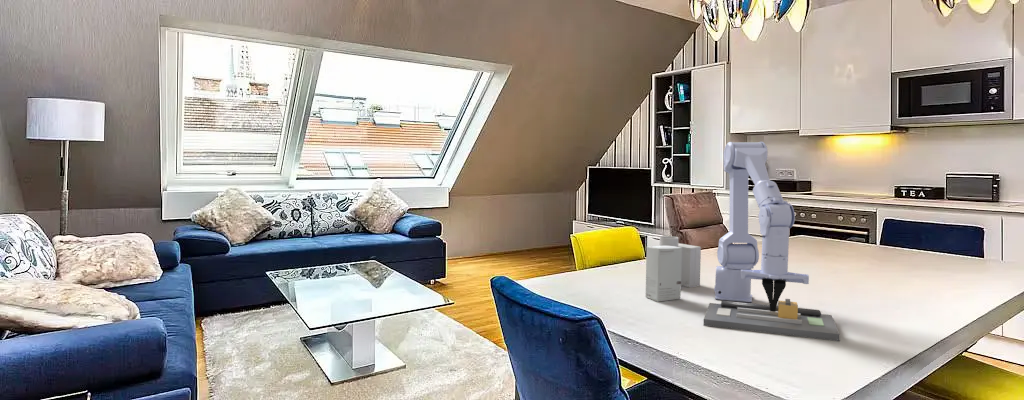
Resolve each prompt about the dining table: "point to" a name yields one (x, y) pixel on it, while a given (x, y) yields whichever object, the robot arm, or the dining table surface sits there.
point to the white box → (686, 261)
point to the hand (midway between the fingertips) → (772, 310)
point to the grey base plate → (771, 320)
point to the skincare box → (663, 273)
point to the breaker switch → (787, 309)
